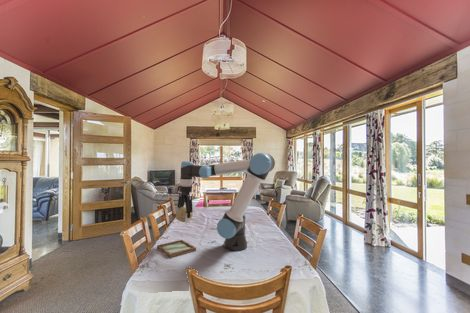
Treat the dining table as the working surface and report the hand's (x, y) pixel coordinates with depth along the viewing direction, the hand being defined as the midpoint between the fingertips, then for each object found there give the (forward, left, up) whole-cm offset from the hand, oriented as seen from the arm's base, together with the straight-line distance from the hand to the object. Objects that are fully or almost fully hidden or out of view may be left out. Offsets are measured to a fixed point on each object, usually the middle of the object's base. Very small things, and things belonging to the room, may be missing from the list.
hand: (184, 221), depth 152 cm
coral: (0, 0, -1) cm, 1 cm away
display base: (-3, +7, -16) cm, 18 cm away
